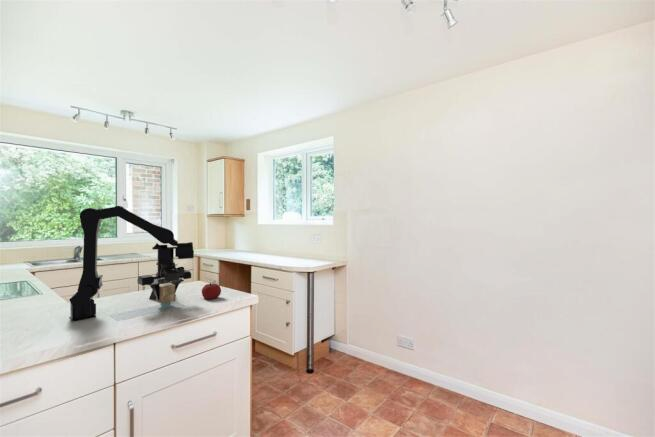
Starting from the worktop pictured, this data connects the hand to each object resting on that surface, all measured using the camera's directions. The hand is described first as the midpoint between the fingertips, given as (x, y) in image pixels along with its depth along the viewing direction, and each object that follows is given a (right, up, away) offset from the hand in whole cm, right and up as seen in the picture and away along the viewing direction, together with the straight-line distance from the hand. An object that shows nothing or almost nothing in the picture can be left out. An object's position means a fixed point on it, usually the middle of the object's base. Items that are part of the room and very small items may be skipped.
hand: (165, 298), depth 123 cm
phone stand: (-9, -4, +14) cm, 17 cm away
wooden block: (0, -1, 0) cm, 1 cm away
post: (0, -3, 0) cm, 3 cm away
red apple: (+13, -4, +14) cm, 20 cm away
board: (-4, -4, -5) cm, 7 cm away
